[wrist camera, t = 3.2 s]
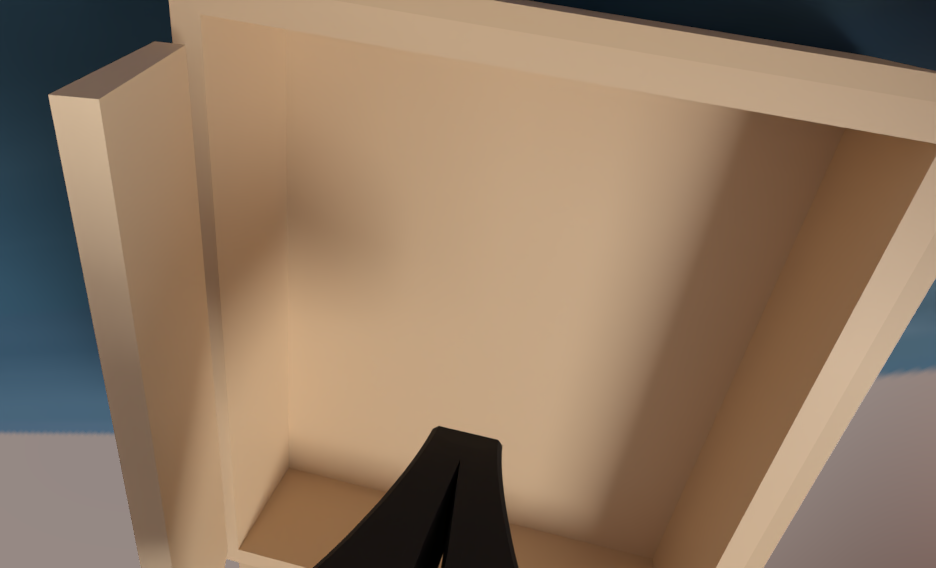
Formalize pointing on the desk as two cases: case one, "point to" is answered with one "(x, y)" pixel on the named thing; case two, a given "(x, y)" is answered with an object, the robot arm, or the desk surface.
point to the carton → (546, 265)
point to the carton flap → (148, 294)
